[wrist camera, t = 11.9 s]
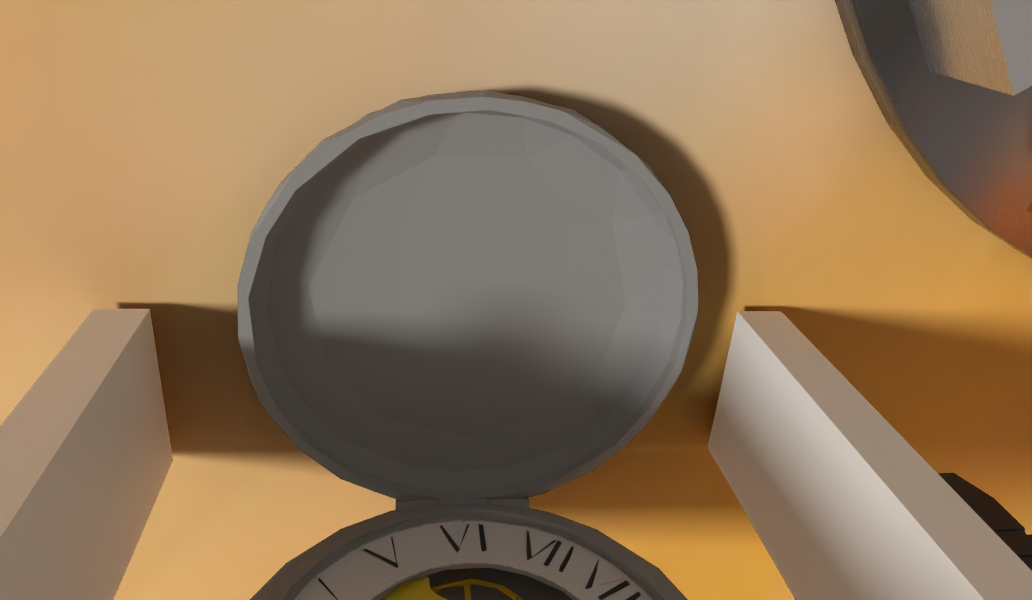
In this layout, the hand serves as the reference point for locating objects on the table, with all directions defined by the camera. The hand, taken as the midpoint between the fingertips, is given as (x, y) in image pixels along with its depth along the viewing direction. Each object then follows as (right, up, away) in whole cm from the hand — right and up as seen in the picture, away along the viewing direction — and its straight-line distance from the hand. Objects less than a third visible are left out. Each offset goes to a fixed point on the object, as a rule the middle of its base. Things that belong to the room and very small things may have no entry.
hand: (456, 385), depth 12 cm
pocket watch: (0, 0, 0) cm, 1 cm away
